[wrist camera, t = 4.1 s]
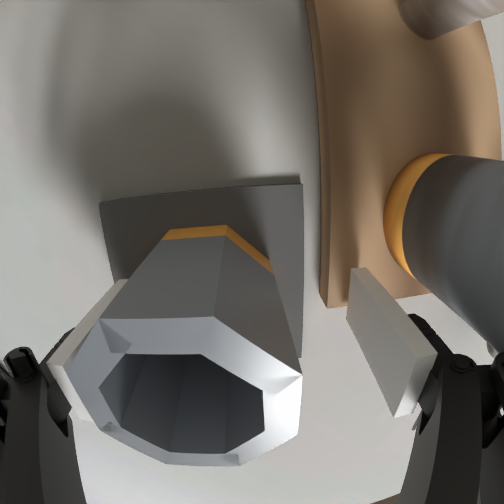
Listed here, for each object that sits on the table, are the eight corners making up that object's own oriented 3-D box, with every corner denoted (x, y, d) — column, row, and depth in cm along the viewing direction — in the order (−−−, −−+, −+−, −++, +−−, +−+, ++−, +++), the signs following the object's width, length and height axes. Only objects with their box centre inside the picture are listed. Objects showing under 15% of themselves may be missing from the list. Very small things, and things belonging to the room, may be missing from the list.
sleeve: (157, 343, 15) (119, 457, 8) (133, 232, 13) (40, 316, 6) (272, 338, 16) (294, 461, 8) (268, 222, 13) (305, 309, 6)
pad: (140, 360, 16) (139, 364, 16) (102, 201, 13) (98, 203, 13) (299, 353, 17) (301, 357, 16) (300, 183, 13) (302, 184, 13)
